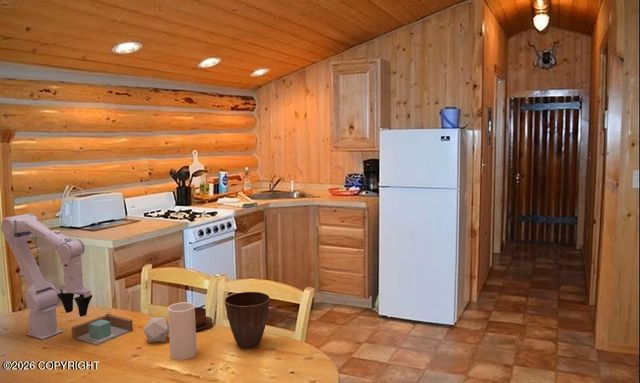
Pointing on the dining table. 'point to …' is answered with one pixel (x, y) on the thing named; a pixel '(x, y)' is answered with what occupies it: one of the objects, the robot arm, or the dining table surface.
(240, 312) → the plant pot
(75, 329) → the tray
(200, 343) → the dining table surface
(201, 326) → the cup and saucer
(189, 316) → the cup
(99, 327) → the teal cube
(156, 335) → the die
